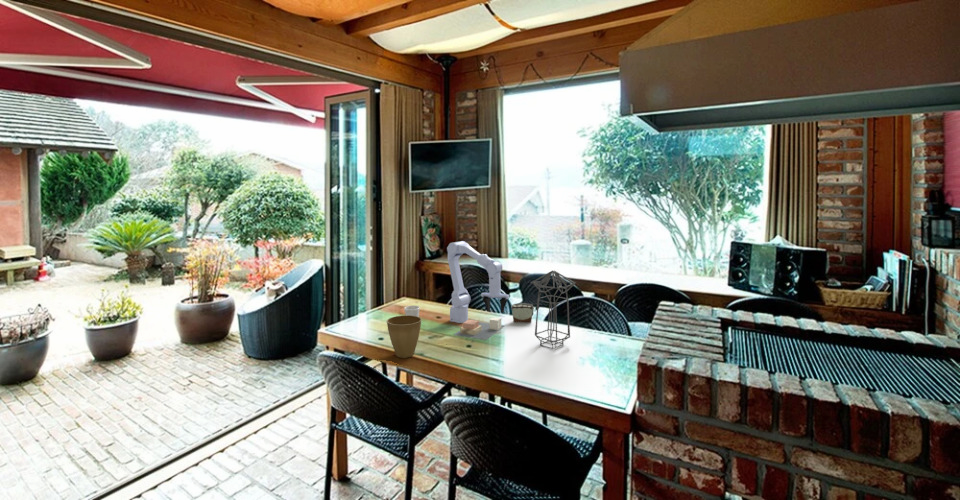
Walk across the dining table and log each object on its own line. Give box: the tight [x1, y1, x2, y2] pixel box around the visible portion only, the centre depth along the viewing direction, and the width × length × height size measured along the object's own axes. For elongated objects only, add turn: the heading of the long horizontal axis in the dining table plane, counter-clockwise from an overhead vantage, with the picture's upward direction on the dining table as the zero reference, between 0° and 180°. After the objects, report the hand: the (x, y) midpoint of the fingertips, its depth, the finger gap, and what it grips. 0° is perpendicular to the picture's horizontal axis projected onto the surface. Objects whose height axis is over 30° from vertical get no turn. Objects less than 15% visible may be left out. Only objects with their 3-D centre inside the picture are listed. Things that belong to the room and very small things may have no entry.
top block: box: [489, 316, 502, 331], centre depth 227 cm, size 5×5×5 cm
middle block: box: [462, 319, 480, 329], centre depth 222 cm, size 6×6×2 cm
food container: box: [510, 302, 535, 324], centre depth 239 cm, size 12×6×10 cm, turn 84°
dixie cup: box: [403, 305, 421, 317], centre depth 235 cm, size 8×8×10 cm
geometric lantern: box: [530, 270, 576, 350], centre depth 202 cm, size 16×16×35 cm
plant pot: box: [386, 315, 422, 359], centre depth 193 cm, size 15×15×16 cm
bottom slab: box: [459, 325, 482, 335], centre depth 222 cm, size 8×8×2 cm
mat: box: [452, 321, 505, 341], centre depth 225 cm, size 18×24×1 cm
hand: (495, 311), depth 226 cm, fingers open, 7 cm apart
